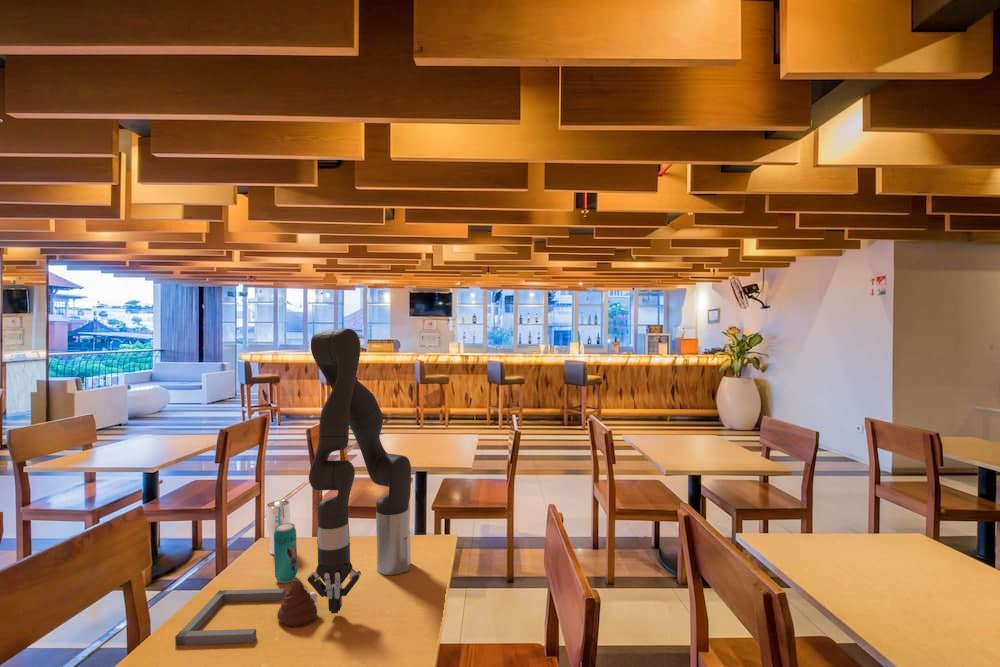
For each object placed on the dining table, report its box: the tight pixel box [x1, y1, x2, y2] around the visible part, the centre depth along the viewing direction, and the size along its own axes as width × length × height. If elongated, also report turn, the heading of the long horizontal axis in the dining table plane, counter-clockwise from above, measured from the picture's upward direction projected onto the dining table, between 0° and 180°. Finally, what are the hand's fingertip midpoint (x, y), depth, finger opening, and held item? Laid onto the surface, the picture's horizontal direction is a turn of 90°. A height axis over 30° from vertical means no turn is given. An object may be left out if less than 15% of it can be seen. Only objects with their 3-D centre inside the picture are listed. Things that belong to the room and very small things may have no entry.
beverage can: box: [274, 522, 298, 584], centre depth 148 cm, size 6×6×15 cm
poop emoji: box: [276, 579, 318, 628], centre depth 129 cm, size 10×8×9 cm
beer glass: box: [265, 499, 291, 555], centre depth 167 cm, size 7×7×15 cm
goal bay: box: [174, 588, 286, 646], centre depth 129 cm, size 17×20×2 cm
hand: (335, 611), depth 130 cm, fingers closed
